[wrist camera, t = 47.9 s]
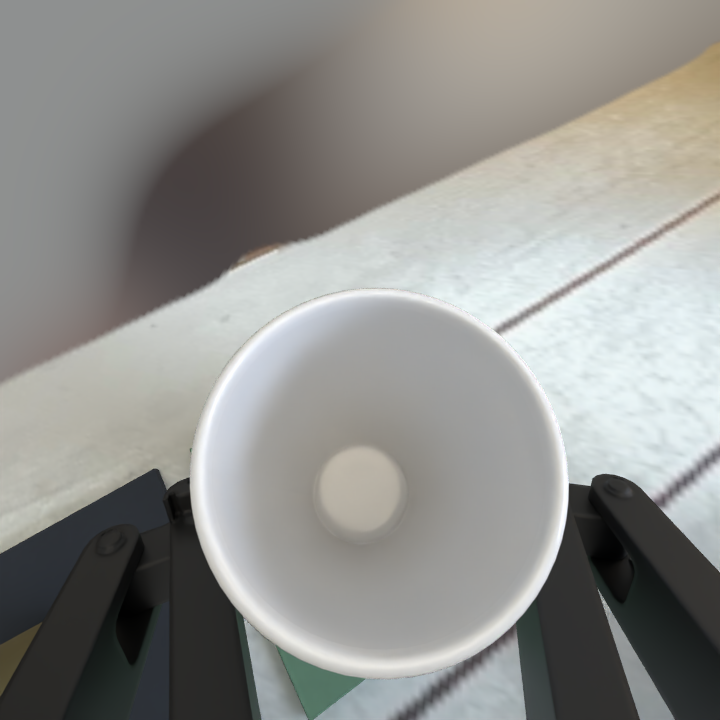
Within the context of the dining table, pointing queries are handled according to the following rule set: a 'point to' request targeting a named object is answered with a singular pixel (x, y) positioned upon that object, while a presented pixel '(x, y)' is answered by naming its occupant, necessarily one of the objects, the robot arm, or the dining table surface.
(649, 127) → the dining table surface
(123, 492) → the slate mat
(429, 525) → the drinking glass
